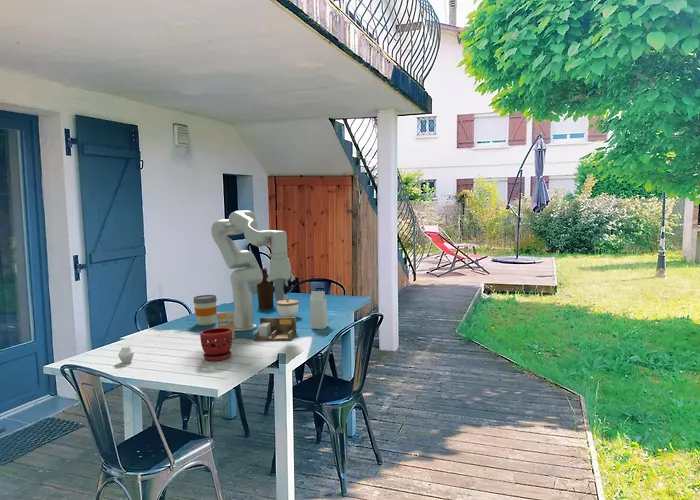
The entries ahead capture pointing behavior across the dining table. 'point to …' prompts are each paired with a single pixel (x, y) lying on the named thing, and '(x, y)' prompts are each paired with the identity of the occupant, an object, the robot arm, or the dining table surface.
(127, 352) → the white faceted vase
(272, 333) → the rack
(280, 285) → the panel
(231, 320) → the supplement box
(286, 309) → the lidded bowl
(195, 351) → the dining table surface
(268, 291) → the olive oil
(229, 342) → the plant pot
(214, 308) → the reusable coffee cup
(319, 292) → the milk carton
